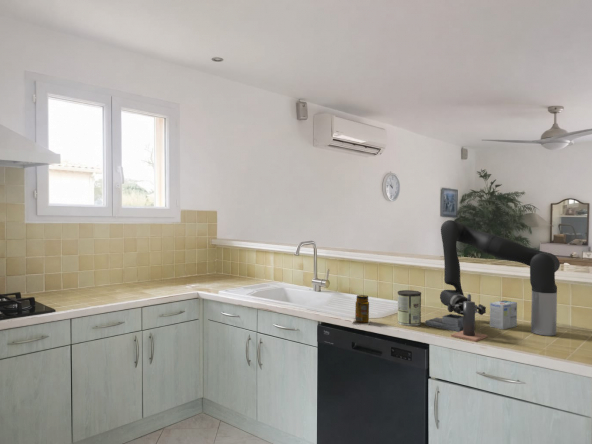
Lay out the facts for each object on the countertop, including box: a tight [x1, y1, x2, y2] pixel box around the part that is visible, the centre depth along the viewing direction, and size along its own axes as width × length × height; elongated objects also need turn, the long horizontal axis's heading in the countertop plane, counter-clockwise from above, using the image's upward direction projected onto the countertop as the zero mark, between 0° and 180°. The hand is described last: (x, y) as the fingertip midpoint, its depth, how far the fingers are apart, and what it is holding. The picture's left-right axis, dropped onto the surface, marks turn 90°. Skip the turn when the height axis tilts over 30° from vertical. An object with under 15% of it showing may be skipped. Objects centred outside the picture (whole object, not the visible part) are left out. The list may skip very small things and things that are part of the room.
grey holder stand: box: [424, 313, 463, 333], centre depth 199 cm, size 10×16×5 cm, turn 43°
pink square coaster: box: [450, 331, 488, 342], centre depth 182 cm, size 10×10×1 cm
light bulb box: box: [489, 299, 518, 330], centre depth 200 cm, size 11×7×11 cm, turn 123°
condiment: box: [352, 294, 371, 326], centre depth 205 cm, size 7×8×12 cm
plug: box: [462, 293, 476, 336], centre depth 182 cm, size 4×4×16 cm
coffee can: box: [397, 289, 422, 327], centre depth 205 cm, size 10×10×14 cm
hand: (470, 312), depth 180 cm, fingers open, 8 cm apart
